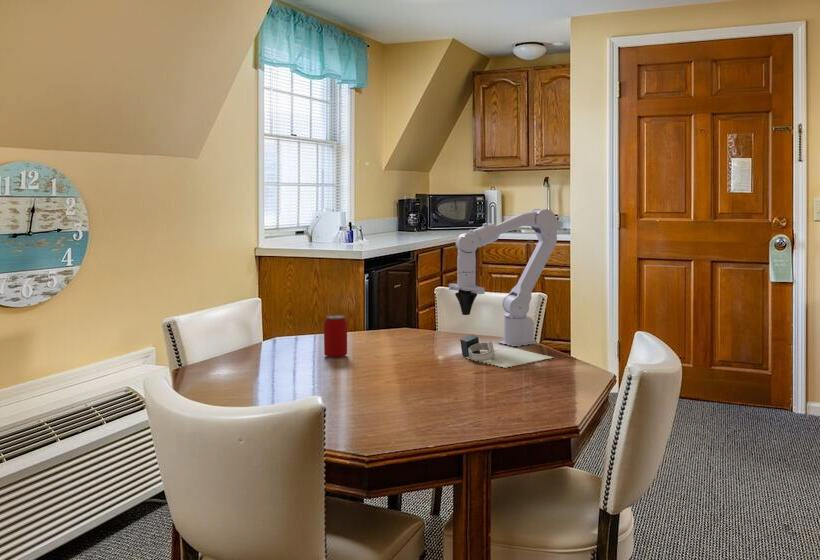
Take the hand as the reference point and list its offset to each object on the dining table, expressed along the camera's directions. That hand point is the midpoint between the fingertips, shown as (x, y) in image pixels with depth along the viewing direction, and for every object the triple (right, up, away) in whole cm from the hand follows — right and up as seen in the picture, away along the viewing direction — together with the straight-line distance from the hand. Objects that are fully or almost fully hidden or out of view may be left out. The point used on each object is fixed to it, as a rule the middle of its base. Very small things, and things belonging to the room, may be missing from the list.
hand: (466, 314), depth 232 cm
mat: (+11, -12, -18) cm, 24 cm away
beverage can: (-40, -12, -15) cm, 44 cm away
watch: (-1, -8, -14) cm, 16 cm away
